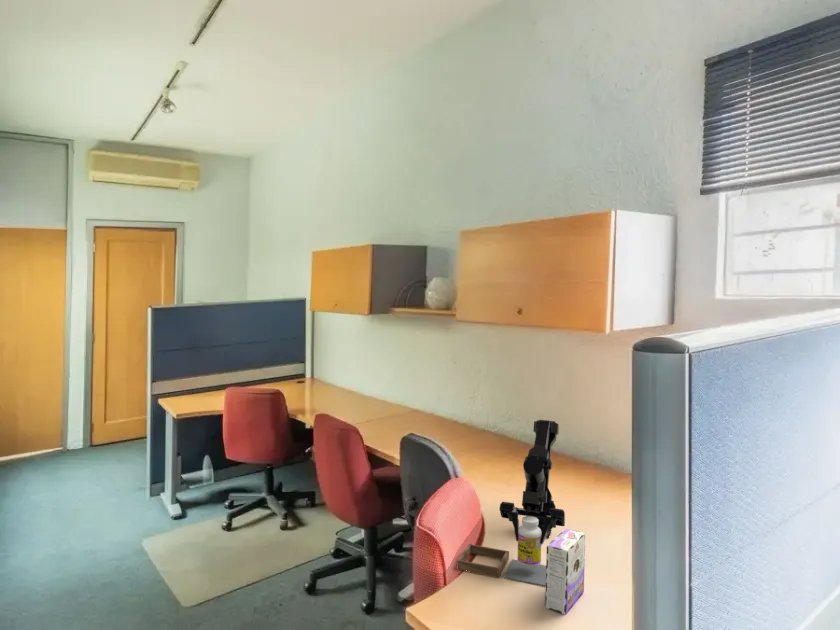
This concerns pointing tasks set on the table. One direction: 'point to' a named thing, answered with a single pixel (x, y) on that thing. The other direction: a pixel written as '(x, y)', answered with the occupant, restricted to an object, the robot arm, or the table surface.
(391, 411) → the table surface
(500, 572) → the square frame
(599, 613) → the table surface
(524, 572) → the mat
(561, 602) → the candy box
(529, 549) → the supplement bottle
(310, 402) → the table surface
